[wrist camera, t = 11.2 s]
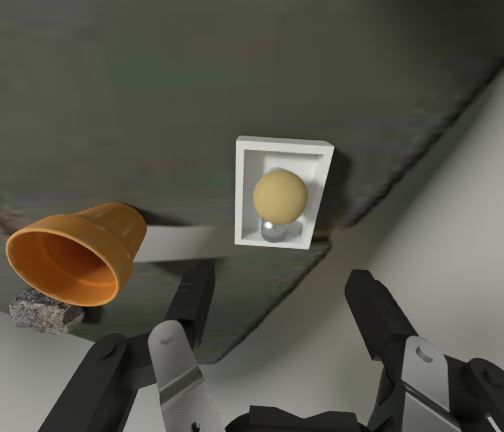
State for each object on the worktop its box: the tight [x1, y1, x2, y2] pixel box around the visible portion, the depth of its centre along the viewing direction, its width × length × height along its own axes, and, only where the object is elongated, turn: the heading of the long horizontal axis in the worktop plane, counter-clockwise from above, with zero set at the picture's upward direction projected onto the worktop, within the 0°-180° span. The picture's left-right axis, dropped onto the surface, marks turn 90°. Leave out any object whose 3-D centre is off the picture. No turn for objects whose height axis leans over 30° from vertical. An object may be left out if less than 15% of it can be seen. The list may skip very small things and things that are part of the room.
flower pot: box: [6, 202, 147, 306], centre depth 32 cm, size 14×14×13 cm
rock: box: [9, 289, 85, 334], centre depth 48 cm, size 13×6×15 cm
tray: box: [235, 136, 334, 249], centre depth 30 cm, size 16×12×6 cm
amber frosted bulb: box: [253, 167, 308, 225], centre depth 25 cm, size 6×6×10 cm
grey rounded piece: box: [261, 217, 288, 243], centre depth 31 cm, size 4×4×4 cm
